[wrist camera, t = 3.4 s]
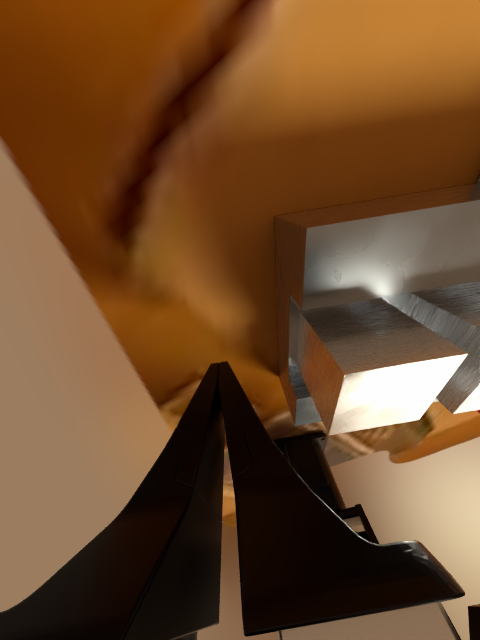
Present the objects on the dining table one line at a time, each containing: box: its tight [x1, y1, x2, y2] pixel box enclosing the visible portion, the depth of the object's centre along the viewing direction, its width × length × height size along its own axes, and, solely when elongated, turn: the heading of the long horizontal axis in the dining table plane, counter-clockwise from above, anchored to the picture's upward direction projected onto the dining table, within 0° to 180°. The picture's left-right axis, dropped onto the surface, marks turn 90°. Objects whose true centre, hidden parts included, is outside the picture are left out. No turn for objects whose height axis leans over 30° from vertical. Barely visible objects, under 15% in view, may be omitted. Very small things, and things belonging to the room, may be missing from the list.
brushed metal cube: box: [402, 281, 480, 414], centre depth 9 cm, size 4×4×4 cm
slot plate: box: [275, 183, 480, 426], centre depth 11 cm, size 12×12×4 cm
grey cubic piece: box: [297, 298, 468, 435], centre depth 9 cm, size 4×4×4 cm
